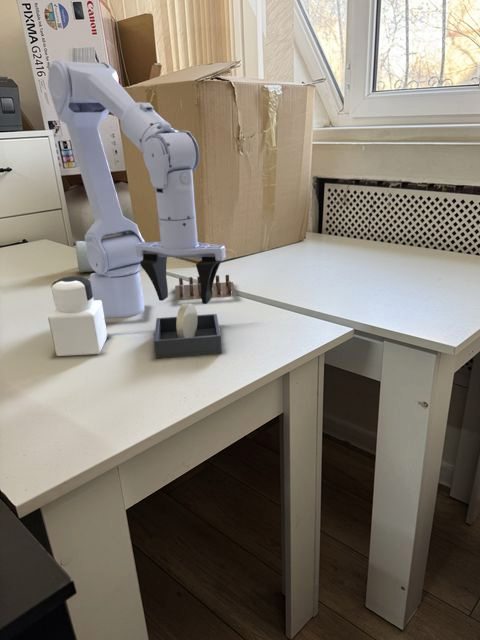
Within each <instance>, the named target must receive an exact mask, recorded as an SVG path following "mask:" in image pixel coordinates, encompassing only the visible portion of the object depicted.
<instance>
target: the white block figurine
mask: <svg viewBox="0 0 480 640" xmlns="http://www.w3.org/2000/svg"><path fill="white" fill-rule="evenodd" d="M50 287H51V291H52V297H53V302H54V306H55V308H54V309H53V311H52V312H51V313H50V314H49V315H48V318H47V320H48V323H49V328H50V333H51V338H52V343H53V346H54V351H55V355H56V356H57V357H67V356H87V355H88V356H89V355H99V354H101V351H102V349H103V347H104V345H105V343H106V341H107V338H108V331H107V325H106V319H105V318H104V313H103V307H102V301H101V300H93V294H92V288H91V282H90V279H88V278H87V277H84V276H81V275H80V276H79V275H71V276H65V277H61V278H59V279H57V280H55V281H53V283H51V286H50Z"/></svg>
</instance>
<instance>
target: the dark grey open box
mask: <svg viewBox="0 0 480 640" xmlns="http://www.w3.org/2000/svg"><path fill="white" fill-rule="evenodd" d="M197 319H198V320H197V329H196V333H195V336H194V337H185V338H179V337H178V334H177V329H176V321H177V316H168V317H167V316H166V317H156V320H155V329H154V337H153V346H154V353H155V354H154V355H155V359H167V358H178V357H179V358H180V357H181V358H182V357H191V356H205V355H216V354H222V353H223V349H222V334H221V329H220V324H219V318H218V313H211V314H197Z"/></svg>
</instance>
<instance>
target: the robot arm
mask: <svg viewBox="0 0 480 640" xmlns="http://www.w3.org/2000/svg"><path fill="white" fill-rule="evenodd" d="M47 86H48V90H49V94H50V96H51V101H52V103H53V107H54V110H55V112H56V116H57V119H58V120H59V121H60V122H62V123H64V124H65V125H66V128H67V129H66V130H67V132H68V135H69V139H70V142H71V144H72V148H73V152H74V155H75V159H76V162H77V165H78V168H79V172H80V175H81V179H82V183H83V186H84V189H85V193H86V195H87V199H88V202H89V206H90V209H91V213H92V215H93V220H94V222H93V223H92V224H91V226H90V228H89V229H88V230H87V231H86V233H85V234H84V241H85V242H86V247H87V258H88V261H89V264H90V266H91V267H92V269H93V270H94V271H93V273H90V275H89V280H90V282H91V288H92V294H93V300H101V301H102V307H103V313H104V319H105V318H130V317H134V316H137V315H140V314H142V313H143V312H144V311H145V301H144V294H143V286H142V278H141V272H140V271H141V270H144V272H145V273H146V275H147V276H148V278H149V279H150V281H151V283H152V285H153V288H154V290H155V293H156V295H157V297H158V301H159V302H160V301H161V302H163V301H165V300H166V299H167V298H168V297H169V288H168V287H169V286H168V279H167V260H168V258H182V259H183V258H184V259H199V261H198V262H197V263H196V264H195V267H196V271H197V274H198V277H199V279H200V284H201V299H200V300H201V304H202V305H207V304H208V303H209V302H211V299H212V298H211V291H212V286H213V283H215V282H214V281H215V279H216V277H215V276H216V275H217V273H218V269H219V268H220V265H221V263H222V261H224V260H225V259H226V258H227V257H226V255H227V253H226V245H218V244H212V243H205V242H199V241H198V230H197V228H198V227H197V217H196V215H197V214H196V203H195V189H194V177H193V176H194V175H193V172H194V171H196V169H197V168H198V166H199V163H200V148H199V145H198V141H197V140H196V138H195V137H194V136H193V135H192V132H191V131H189V130H178V129H175V128H173V127H172V125H171V124H170V123H169V122H168V121H167V120H165V119H164V118H162V116H160V115H159V114H158V112H156V111H155V110H154V106H153V105H152V104H151V103H150V102H141V101H140V102H136V101H135V100H134V99H133V98H132V96H131V95H130V94H129V93H128V91H126V89H125V88H124V87H123V86H122V85H121V84H120V83H119V76H118V71H117V70H116V69H114V68H113V67H112V66H111V64H110V63H108V62H105V61H104V62H103V61H102V62H83V61H82V62H81V61H62V60H58V59H55V60H53V61H52V62H51V64H50V66H49V68H48V77H47ZM109 113H111V114H112V116H115V118H116V119H118V120H119V121H120V129H121V131H122V133H123V135H124V136H125V137H126V138H127V139H128V140H129V141H130V142H131V143H132V144H133V145H134V146H135V147H136V148H137V149H138V150H139V151H140V152H141V153H142V158H143V161H144V164H145V167H146V169H147V171H148V174H149V178H150V184H151V187H153V188H154V189H155V190H154V191H155V196H156V210H157V217H158V228H159V236H160V241H145V239H144V238H143V236H142V235H141V232H140V230H139V227H138V224H136V223H135V222H133V221H132V220H130V219H128V218H126V217H125V216H124V215H123V212H122V208H121V205H120V201H119V197H118V194H117V190H116V188H115V184H114V180H113V177H112V174H111V170H110V167H109V162H108V159H107V156H106V152H105V148H104V145H103V141H102V138H101V135H100V131H99V125H100V123H102V122H104V120H106V119H107V118H108V115H109ZM113 235H115V236H113ZM108 236H110V237H108ZM103 237H106V238H103ZM200 259H201V260H200Z"/></svg>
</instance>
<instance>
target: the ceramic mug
mask: <svg viewBox="0 0 480 640" xmlns="http://www.w3.org/2000/svg"><path fill="white" fill-rule="evenodd" d="M75 252H76V261H77V268H78V272H79V273H91V272H95V271H94V270H93V269H92V267H91V266H90V264H89V261H88V258H87V247H86V242H85V240H76V241H75Z"/></svg>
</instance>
